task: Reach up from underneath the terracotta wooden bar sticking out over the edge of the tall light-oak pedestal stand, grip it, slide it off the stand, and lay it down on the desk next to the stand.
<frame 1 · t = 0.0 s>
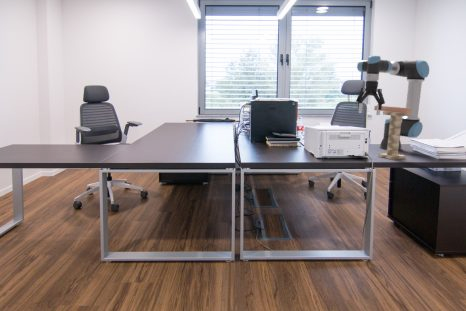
hand: (368, 114, 273), 28 cm above the table, tool pointing down, fingers open, 13 cm apart
pedestal stand: (391, 157, 278), on the table
bar: (391, 111, 275), point 30 cm above the table, touching pedestal stand
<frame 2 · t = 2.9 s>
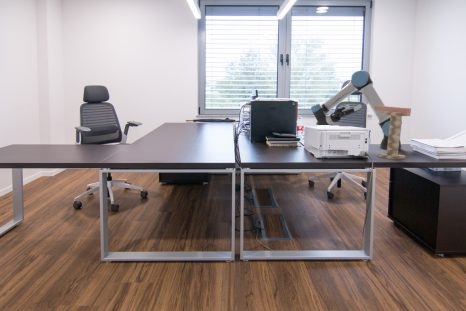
hand: (355, 105, 298), 32 cm above the table, tool pointing upward, fingers open, 13 cm apart
nothing on the table moved.
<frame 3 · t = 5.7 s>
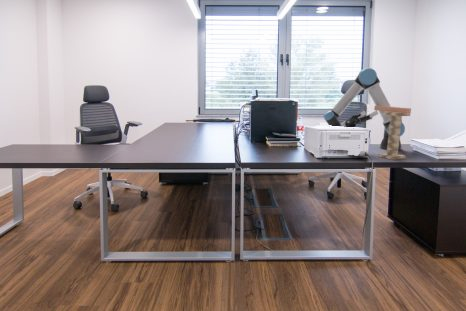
hand: (371, 112, 287), 28 cm above the table, tool pointing upward, fingers open, 13 cm apart
nothing on the table moved.
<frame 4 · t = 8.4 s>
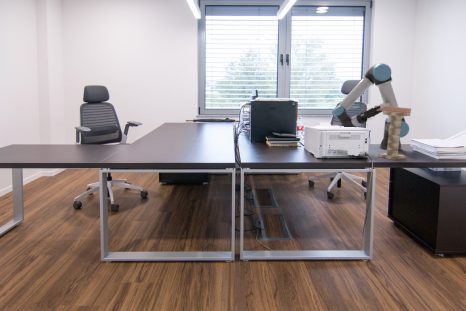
hand: (386, 104, 278), 34 cm above the table, tool pointing upward, fingers closed on bar, 4 cm apart
bar: (391, 111, 275), point 30 cm above the table, touching gripper, pedestal stand
everything else where it was.
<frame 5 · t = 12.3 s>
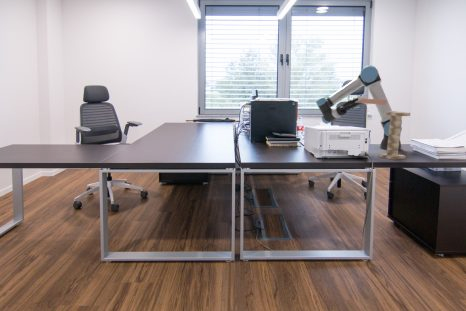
hand: (364, 96, 291), 38 cm above the table, tool pointing upward, fingers closed on bar, 4 cm apart
bar: (368, 103, 289), point 34 cm above the table, touching gripper
everything else where it was.
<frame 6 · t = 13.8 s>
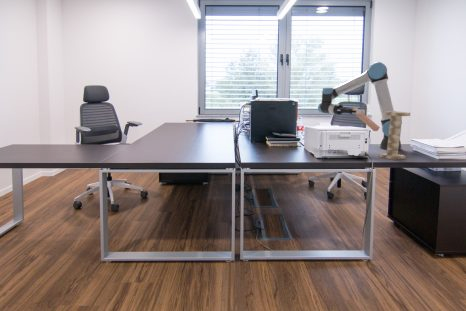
hand: (362, 112, 294), 28 cm above the table, tool horizontal, fingers closed on bar, 4 cm apart
bar: (363, 120, 293), point 22 cm above the table, tilted 30°, touching gripper
everything else where it was.
when the fingers open (13 cm above the table, at t = 16.6 s): bar drops 8 cm, on the table.
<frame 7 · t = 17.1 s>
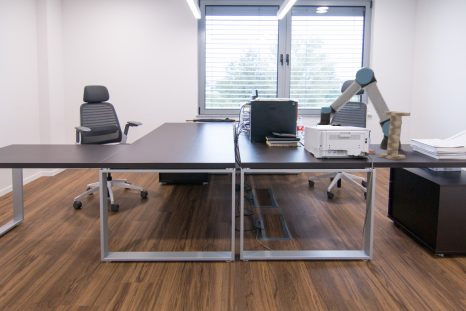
hand: (359, 132, 297), 14 cm above the table, tool horizontal, fingers open, 11 cm apart
bar: (358, 151, 299), on the table
everything else where it was.
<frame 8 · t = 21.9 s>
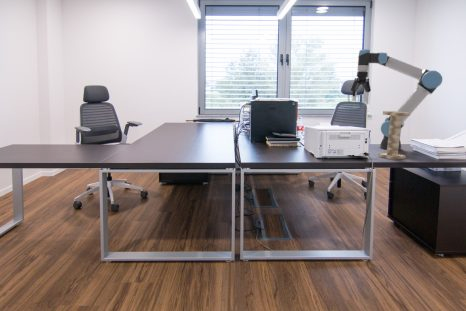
hand: (359, 100, 310), 35 cm above the table, tool pointing down, fingers open, 13 cm apart
at the end: bar inside the target area (5.6 cm from its centre), on the table; bar touching table; the gripper is holding nothing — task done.
